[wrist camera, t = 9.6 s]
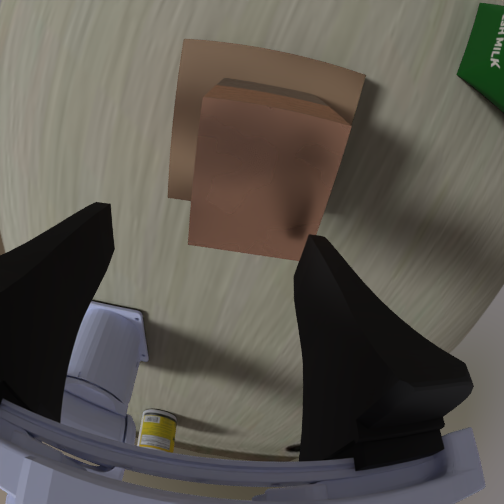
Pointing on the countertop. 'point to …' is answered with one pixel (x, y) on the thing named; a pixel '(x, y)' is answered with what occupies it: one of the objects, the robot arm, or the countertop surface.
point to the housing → (263, 168)
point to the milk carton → (486, 54)
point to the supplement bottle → (157, 430)
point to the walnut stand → (254, 70)
